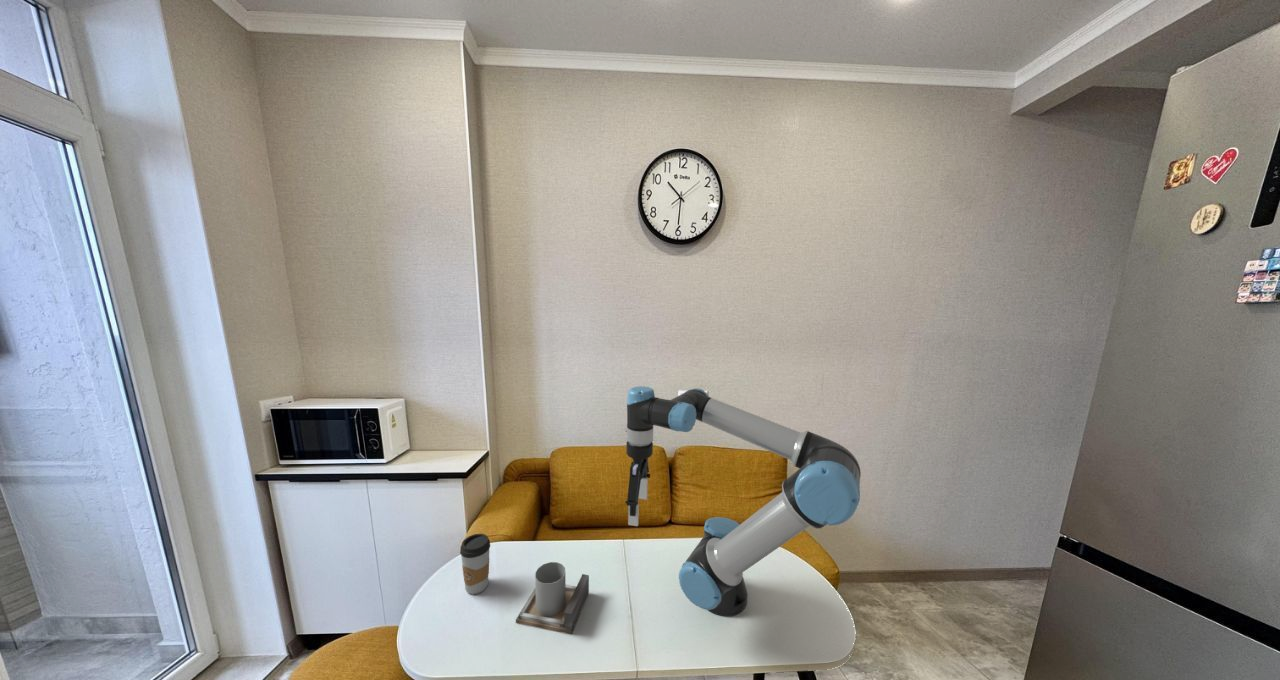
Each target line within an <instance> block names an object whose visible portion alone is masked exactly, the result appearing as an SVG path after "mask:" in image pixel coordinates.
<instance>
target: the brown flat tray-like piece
mask: <svg viewBox="0 0 1280 680" xmlns="http://www.w3.org/2000/svg"><path fill="white" fill-rule="evenodd" d="M589 593H590V575H589V574H584V573H582V574H581V577H580V579H579V581H578V583H577V585H571V584H566V605H565V607H564V609H563V610H562V611H561V612H560V613H559V614H557V615H554V616H552V617H544V616H541V615H539V614H538V612H537V611H536V593H535V588H534V589H533V590H532V592H531V594H530V595H529V597H528V599H527V600H526V602H525V603H524V605H523V607H522V608H521V610H520V612H519V613H518V615H517V617H516V619H515V624H519V625H523V626H530V627H534V628H538V629H543V630H548V631H553V632H558V633H563V634H567V635H568V634H569V635H572V634H573V631H574V630H575V626H576V625H577V623H578V620H579V617H580V615H581V613H582V610H583V608H584V607H585V603H586V601H587V599H588V597H589Z"/></svg>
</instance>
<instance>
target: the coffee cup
mask: <svg viewBox="0 0 1280 680" xmlns="http://www.w3.org/2000/svg"><path fill="white" fill-rule="evenodd" d="M490 548H491V542H490V539H489V537H488V535H487V534H485V533H474V534H472V535H469V536H467V537H466V538H465V539H463V541H462V542H461V545H460V550H459V553H460V555H461V563H462V564H461V566H462V574H463V582H464V589H465V591H466V593H467V594H469V595H477V594H479V593H482V592H483V591H484V590H486V588H487V587H488V584H489V574H490Z"/></svg>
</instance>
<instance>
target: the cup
mask: <svg viewBox="0 0 1280 680" xmlns="http://www.w3.org/2000/svg"><path fill="white" fill-rule="evenodd" d="M534 576H535V577H534V579H535V582H534V584H535V588H534V589H535V593H536V611H537V612H538V614H539V615H541V616H544V617H552V616H554V615H557V614H559V613H560V612H561V611H562V610H563V609H564V607H565V605H566V585H567V583H566V567H565V566H564V565H563V564H562V563H560V562H559V561H558V562H555V561H554V562H553V561H549V562H546V563H544V564H541V565H540V566H539V567H538V568H537V570H536V571H535V574H534Z"/></svg>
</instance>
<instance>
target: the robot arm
mask: <svg viewBox="0 0 1280 680" xmlns="http://www.w3.org/2000/svg"><path fill="white" fill-rule="evenodd" d="M626 399H627V400H626V412H627V414H626V415H627V419H626V421H627V423H626V428H625V429H624V431H625V432H626V447H625V448H626V455H627V457H629V458H631V459H632V461H631V464H630V466H629V479H628V480H629V481H628V491H627V497H626V500H625V504H626V506H628V507H627V509H628V512H627V514H628V517H627V521H628V522H627V523H628V526H634V527H638V526H639V516H640V515H639V513H640V512H639V509H640V507H639V505H640V503H639V500H645V501H646V500H648V481H649V480H648V479H650V478H651V474H650V473H649V472H650V469H649V467H650V466H649V458H651V457H652V456H653V450H654V443H653V441H654V426H656V427H661V428H664V429H669V430H672V431H674V432H683V433H689V432H691V431H692V430H693V427H694V426H695V425H696V421H699V422H701V423H704V424H707V425H709V426H711V427H713V428H716V429H718V430H721V431H722V432H725V433H727V434H730V435H731V436H734V437H736V438H739V439H740V440H744V441H746V442H748V443H750V444H752V445H755V446H756V447H759V448H762V449H764V450H766V451H769V452H771V453H773V454H776V455H778V456H780V457H782V458H785V459H787V460H788V461H789V460H790V461H791V462H792V464H793V467H796V468H797V470H796V471H795V472H794V473H793V474H791V475H790V476H789V477H787V478H786V479H785V480H783V481H782V483H781V484H782V485H781V490H782V491H781V492H780V493H779V494H777V495H776V496H775V497H773V499H771V500H770V501H769V502H767V503H766V504H764V506H762V507H761V508H759V509H758V510H757V511H756V512H754V513H753V514H752V515H751V516H749V517H748V518H747V519H746V520H744V521H743V522H742V523H739V522H737V521H735V520H734V519H731V518H726V517H721V516H719V517H718V516H715V517H710V518H708V519H706V521H705V523H704V526H703V532H704V533H703V535H702V536H703V537H702V538H701V540H700V541H699V543H698V544H697V545H696V546H695V548H694V549H693V550H692V552H691V553H690V554H689V556H687V559H686V561H685V562H683V563H682V565H681V568H680V569H679V573H678V580H679V586H680V589H681V590H682V592H683V594H684V596H685V597H686V598H687V599H688V600H689V601H690V602H691V603H692V604H694V605H695V606H696V607H698V608H700V609H702V610H707V611H709V612H711V613H712V614H715V615H718V616H722V617H730V616H731V617H732V616H736V615H738V614H740V613H742V612H743V611H744V610H745V609H746V607H747V604H748V591H747V587H746V583H745V578H744V572H746V571H747V570H748V569H750V568H751V567H753V566H754V565H755V564H757V563H758V562H760V561H761V560H763V559H764V558H766V557H767V556H768V555H770V554H771V553H773V552H774V551H776V550H777V549H778V548H780V547H781V546H783V545H784V544H786V543H787V542H789V541H790V540H791V539H793V538H795V536H798V535H799V534H800V533H802V532H803V531H805V530H806V529H808V528H809V527H811V528H812V529H816V530H820V529H822V528H824V527H825V526H827V525H828V526H838V525H841V524H844V523H845V522H847V521H848V520H850V519H851V518H852V517H853V515H854V514H855V512H856V510H857V508H858V505H859V503H860V498H861V491H860V489H861V488H860V487H861V486H860V485H861V476H862V475H861V473H862V472H861V468H860V464H859V461H858V460H857V458H856V456H855V455H853V453H852V452H851V451H850V450H848V449H847V448H845V446H843V445H841V444H840V443H837V442H835V441H833V440H831V439H829V438H826V437H824V436H822V435H819V434H818V433H814V432H812V431H808V430H805V431H802V432H801V431H798V430H795V429H792V428H790V427H787V426H784V425H782V424H779V423H778V422H775V421H772V420H769V419H767V418H765V417H761V416H759V415H756V414H754V413H751V412H749V411H746V410H744V409H741V408H739V407H735V406H734V405H730V404H728V403H725V402H722V401H720V400H717V399H715V398H712V397H710V396H709V394H708V393H707V392H706V391H705V390H703V389H701V388H697V387H696V388H690V389H688V390H686V391H684V393H681V394H680V395H678V396H675V397H673V398H671V399H666V398H661V397H656V395H655V390H654V388H651V387H649V386H642V385H641V386H634V387H631V388H629V389H628V391H627V398H626Z"/></svg>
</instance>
